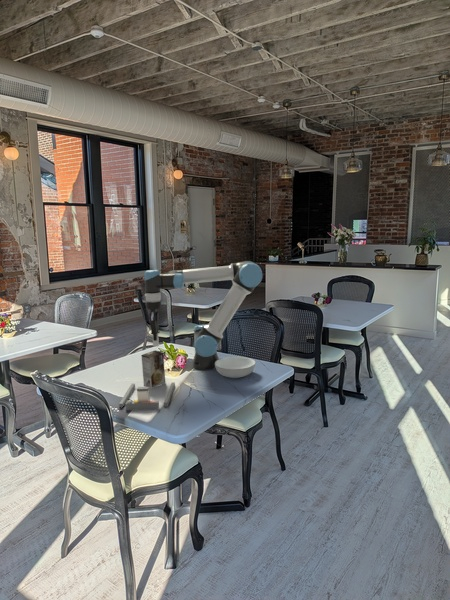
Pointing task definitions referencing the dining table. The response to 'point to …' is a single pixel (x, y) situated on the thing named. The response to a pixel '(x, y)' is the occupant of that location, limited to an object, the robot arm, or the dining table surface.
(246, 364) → the serving bowl
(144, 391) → the switch lever
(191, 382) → the dining table surface
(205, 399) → the dining table surface
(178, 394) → the dining table surface
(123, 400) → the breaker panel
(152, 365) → the coffee box
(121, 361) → the dining table surface
